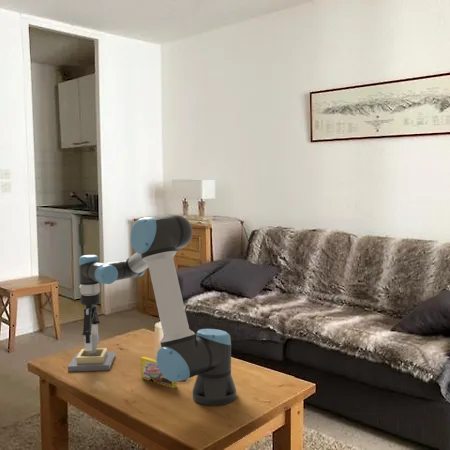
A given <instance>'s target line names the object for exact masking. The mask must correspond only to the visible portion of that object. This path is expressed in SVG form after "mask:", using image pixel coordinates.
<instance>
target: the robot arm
mask: <svg viewBox="0 0 450 450" xmlns="http://www.w3.org/2000/svg"><path fill="white" fill-rule="evenodd" d="M193 234H194V230H193V227H192V224H191V222H190V221H189V220H188V219H187V218H185V217H184V216H182V215H178V214H171V215H155V216H151V215H149V216H147V217H141V218H139V219H137V220H136V221H135V222H134V223H133V225H132V229H131V231H130V237H129V239H130V245H131V247H132V249H133V250H134V252H135V253H134V254H132V255H131V256H130V257H128V258H127V259H123V260H115V261H108V262H100V260H99V256H98V255H96V254H86V255H85V254H84V255H81V256H80V257H79V259H78V261H79V262H78V263H79V264H78V272H79V273H78V274H79V285H78V288H79V289H80V292H79V293H80V304H81V305H83V306H85V308H84V310H83V316H84V317H83V330H82V331H83V332H82V333H81V335H82V336H84V337H83V339H84V338H85V343H84V349H85V351H92V334H91V332H95V333H97V334H98V335H99V325H98V324H100V323H101V322H100V320H99V319H100V318H99V314H98V307H97V306H98V305H97V304H99V303H100V302H101V296H100V291H101V289H100V284H103V285H111V284H113V283H114V282H116V281H121V280H126V279H132V278H138V277H139V278H140V277H142V276H144V275H145V273H146V270H147V269H148V270H149V274H150V279H151V284H152V288H153V293H154V298H155V304H156V306H157V307H156V308H157V312H158V316H159V320H160V326H161V329H162V334H163V335H162V338H161V339H160V340H159V341H160V348H159V349H158V350H157V352H156V357H155V360H156V361H157V365H158V368H159V370H160V372H161V373H162V375H163V376H165V378H166V379H168V380H169V381H172V382H176V383H177V382H181V381H186V380H188V379H190V378H192V377H195V376H196V378H195V382H194V385H193V388H192V400H194V401H195V402H196V403H198V404H200V405H205V406H212V407H213V406H223V405H227V404H230V403H232V402H234V401H235V400H236V398H237V388H236V385H235V382H234V379H233V375H232V339H231V334H230V333H228V332H227V331H225V330H222V329H216V328H201V329H198V330H197V331H196V333H195V332H194V331H193V330H191V329H190V326H189V323H188V317H187V313H186V308H185V305H184V304H185V303H184V301H183V300H184V299H183V295H182V291H181V288H180V286H181V285H180V281H179V278H178V274H177V269H176V265H175V260H174V257H175V255H176V254H177V252H179V251H181V250H182V249H183V248H185V247H186V246H188V245H189V244H190V243H191V241H192V238H193Z"/></svg>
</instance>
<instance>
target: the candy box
mask: <svg viewBox="0 0 450 450" xmlns="http://www.w3.org/2000/svg"><path fill="white" fill-rule="evenodd" d="M140 370H141V379H142V380H143V379H144V380H147V381H149V380H151V379H152V380H153V381H154V383H155V382H157V383H156V384H159V383H160V384H159V385H162V384H163V386H165V385H166V386H165V387H168V386H169V388H171V389H175V388H177V387H178V386H177V382H172V381H169V380H168V379H166V378H165V376H163V375H162V373H161V372H160V370H159V368H158V365H157V361H156V358H155V359H154V358H151V357H147V356H142V357H140Z"/></svg>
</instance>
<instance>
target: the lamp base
mask: <svg viewBox="0 0 450 450" xmlns="http://www.w3.org/2000/svg"><path fill="white" fill-rule="evenodd" d="M115 357H116V351H115V350H112V351H108V348H107V347H99V348H98V347H97V348H96V355H95V356H89V353H88V351H85V348H81V349H80V351H79V352H76V353H75V354H74V356H73V357H72V359H71V361H70V363H69V364H68V366H67V372H68V371H69V372H88V371H89V372H91V371H92V372H93V371H94V372H95V371H96V372H97V371H110V369H111V367H112V364H113V362H114V360H115Z"/></svg>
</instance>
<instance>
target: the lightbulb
mask: <svg viewBox="0 0 450 450" xmlns="http://www.w3.org/2000/svg"><path fill="white" fill-rule="evenodd" d="M91 334H92V351H88V353H89V356H95V355H96V348H98V345H99V344H100V335H99V333H98V334H97V333H95V332H91ZM83 343H84V344H85V338H84V337H83Z"/></svg>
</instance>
